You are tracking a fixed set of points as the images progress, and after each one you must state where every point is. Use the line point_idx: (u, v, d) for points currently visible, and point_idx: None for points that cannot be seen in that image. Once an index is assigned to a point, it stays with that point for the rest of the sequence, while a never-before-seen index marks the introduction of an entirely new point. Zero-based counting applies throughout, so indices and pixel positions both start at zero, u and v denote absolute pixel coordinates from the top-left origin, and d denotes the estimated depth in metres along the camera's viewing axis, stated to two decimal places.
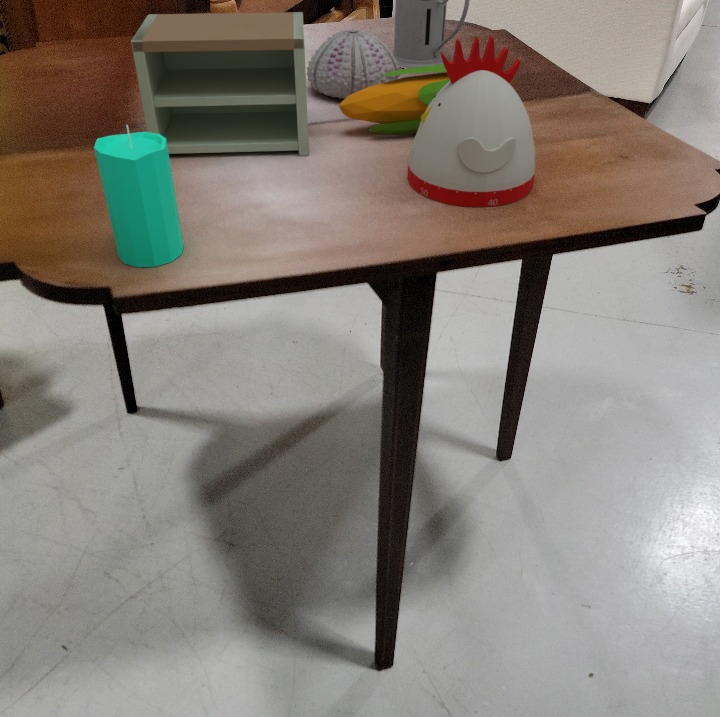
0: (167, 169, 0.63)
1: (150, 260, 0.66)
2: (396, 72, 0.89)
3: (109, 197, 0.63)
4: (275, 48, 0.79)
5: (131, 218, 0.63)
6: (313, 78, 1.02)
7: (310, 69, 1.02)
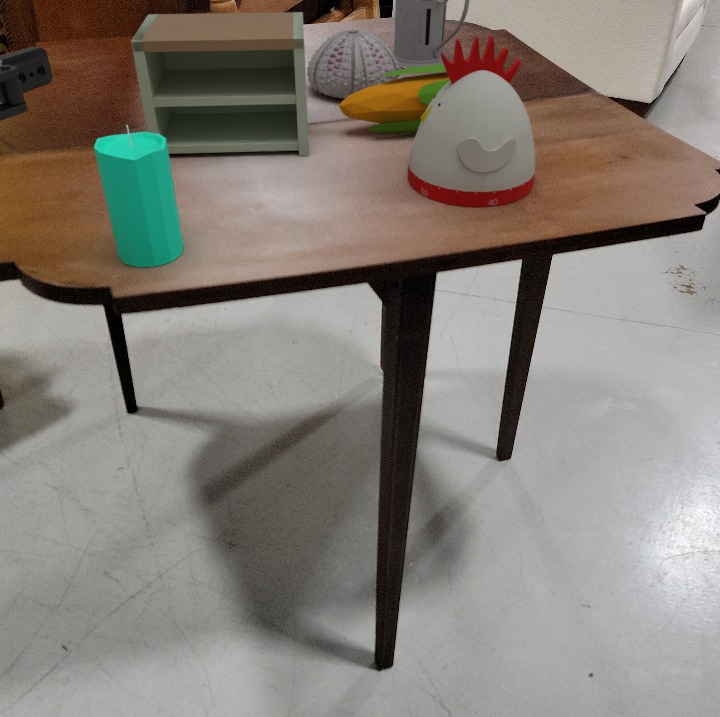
0: (167, 169, 0.63)
1: (150, 260, 0.66)
2: (396, 72, 0.89)
3: (109, 197, 0.63)
4: (275, 48, 0.79)
5: (131, 218, 0.63)
6: (313, 78, 1.02)
7: (310, 69, 1.02)
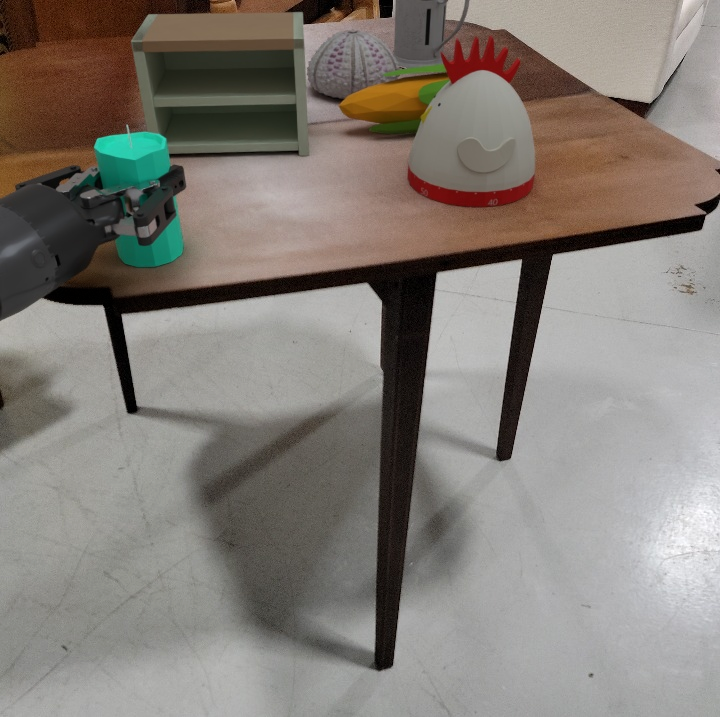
0: (167, 169, 0.63)
1: (150, 260, 0.66)
2: (396, 72, 0.89)
3: None
4: (275, 48, 0.79)
5: None
6: (313, 78, 1.02)
7: (310, 69, 1.02)
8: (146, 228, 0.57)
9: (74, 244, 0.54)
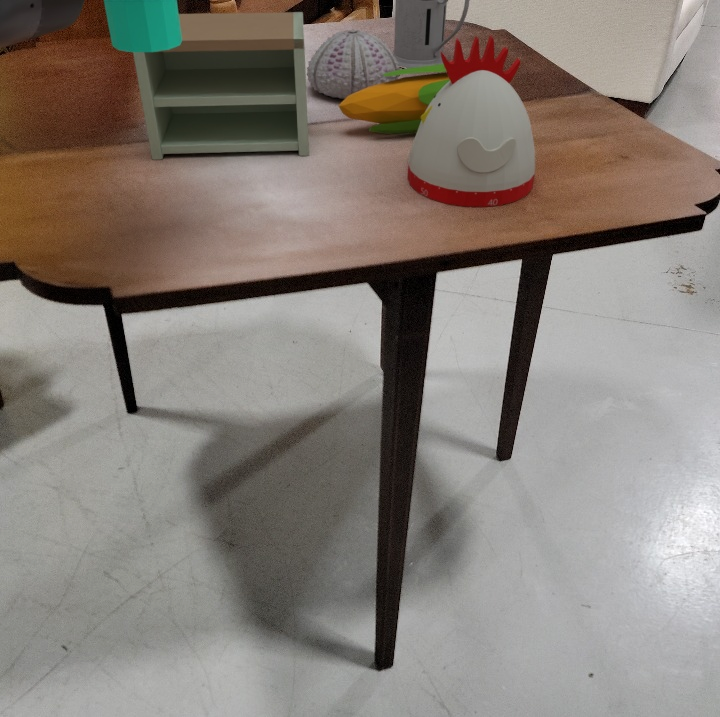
0: None
1: (146, 43, 0.61)
2: (396, 72, 0.89)
3: None
4: (275, 48, 0.79)
5: None
6: (313, 78, 1.02)
7: (310, 69, 1.02)
8: None
9: None
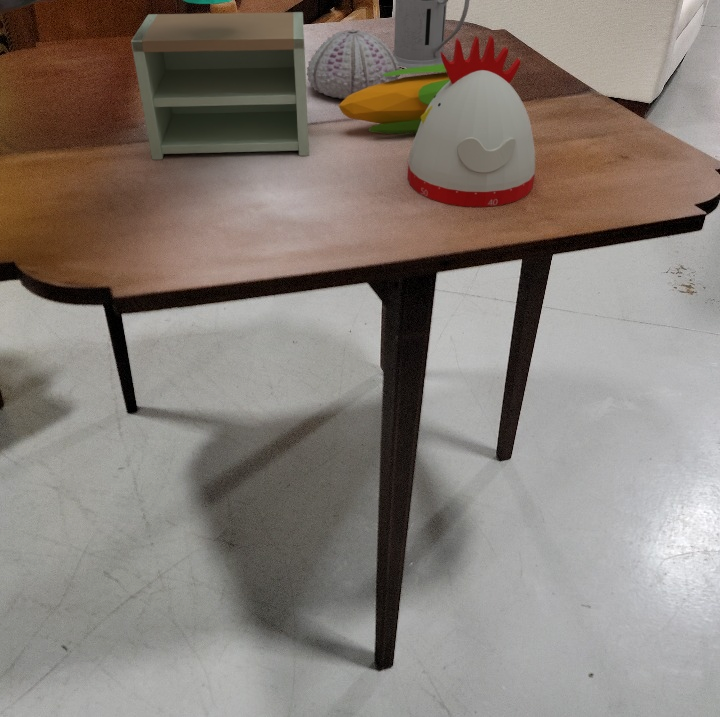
0: None
1: None
2: (396, 72, 0.89)
3: None
4: (275, 48, 0.79)
5: None
6: (313, 78, 1.02)
7: (310, 69, 1.02)
8: None
9: None
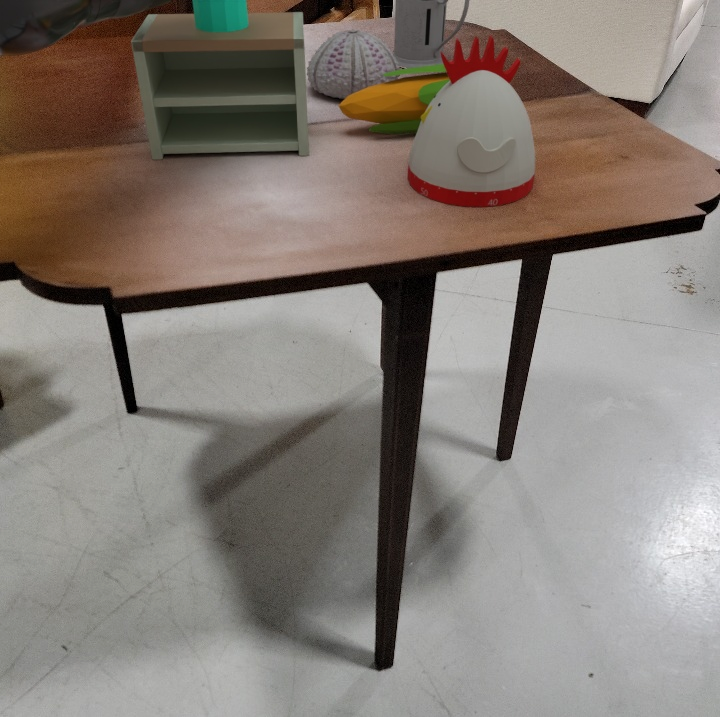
0: None
1: (223, 25, 0.80)
2: (396, 72, 0.89)
3: None
4: (275, 48, 0.79)
5: None
6: (313, 78, 1.02)
7: (310, 69, 1.02)
8: None
9: None
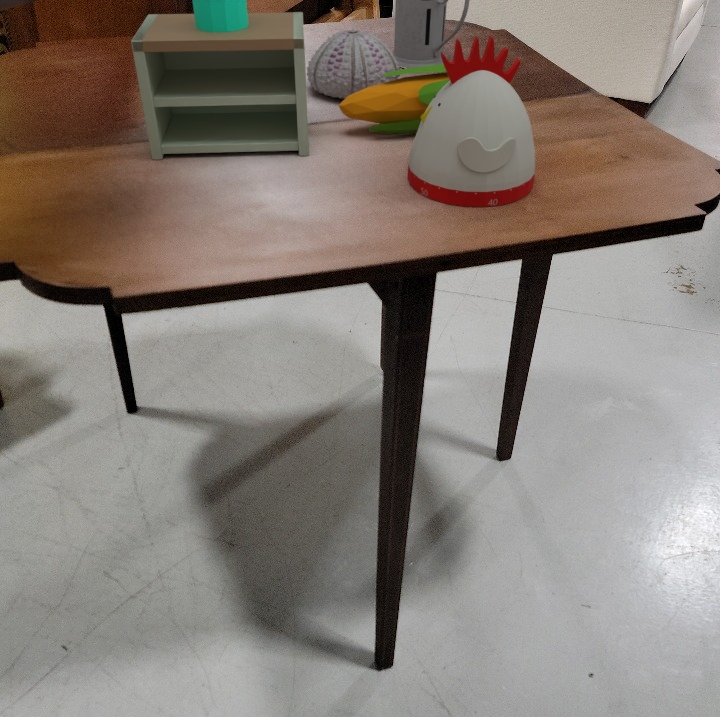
0: None
1: (223, 25, 0.80)
2: (396, 72, 0.89)
3: None
4: (275, 48, 0.79)
5: None
6: (313, 78, 1.02)
7: (310, 69, 1.02)
8: None
9: None
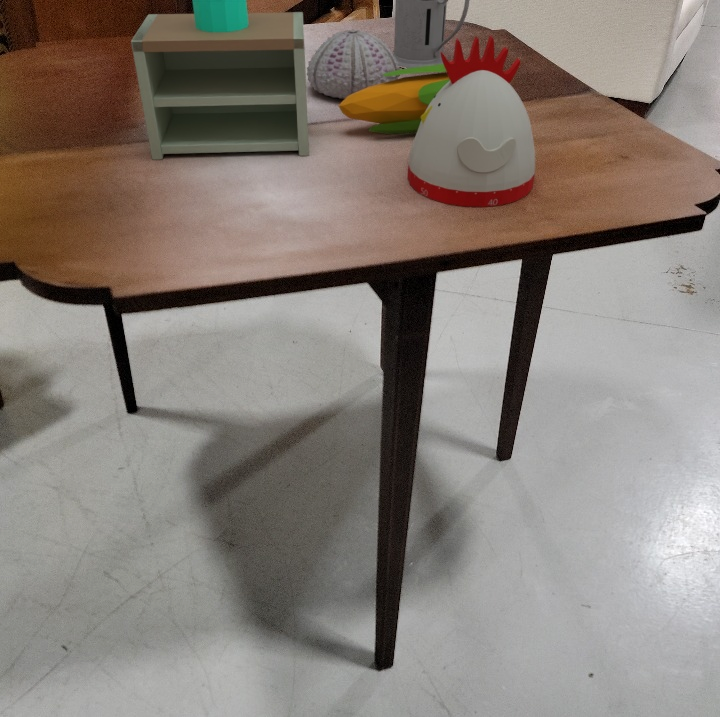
0: None
1: (223, 25, 0.80)
2: (396, 72, 0.89)
3: None
4: (275, 48, 0.79)
5: None
6: (313, 78, 1.02)
7: (310, 69, 1.02)
8: None
9: None
